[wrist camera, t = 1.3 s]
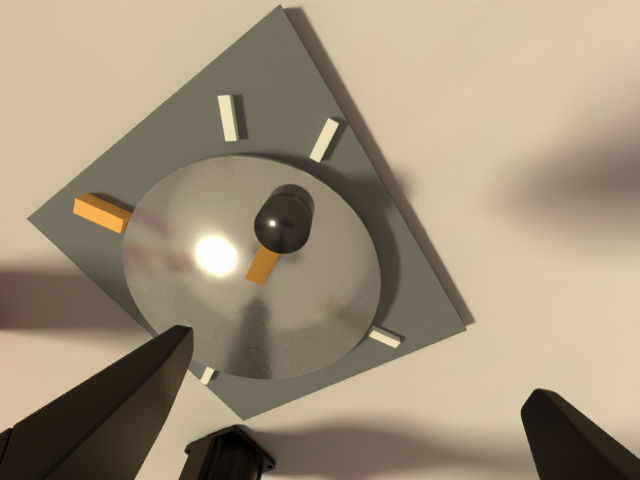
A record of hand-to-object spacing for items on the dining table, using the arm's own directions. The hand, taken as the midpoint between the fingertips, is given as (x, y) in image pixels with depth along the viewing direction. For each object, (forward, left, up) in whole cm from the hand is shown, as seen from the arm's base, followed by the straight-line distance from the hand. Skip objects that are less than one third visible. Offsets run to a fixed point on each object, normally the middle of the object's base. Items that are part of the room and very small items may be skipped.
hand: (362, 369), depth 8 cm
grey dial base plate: (-1, +8, -12) cm, 14 cm away
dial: (0, +8, -11) cm, 13 cm away
